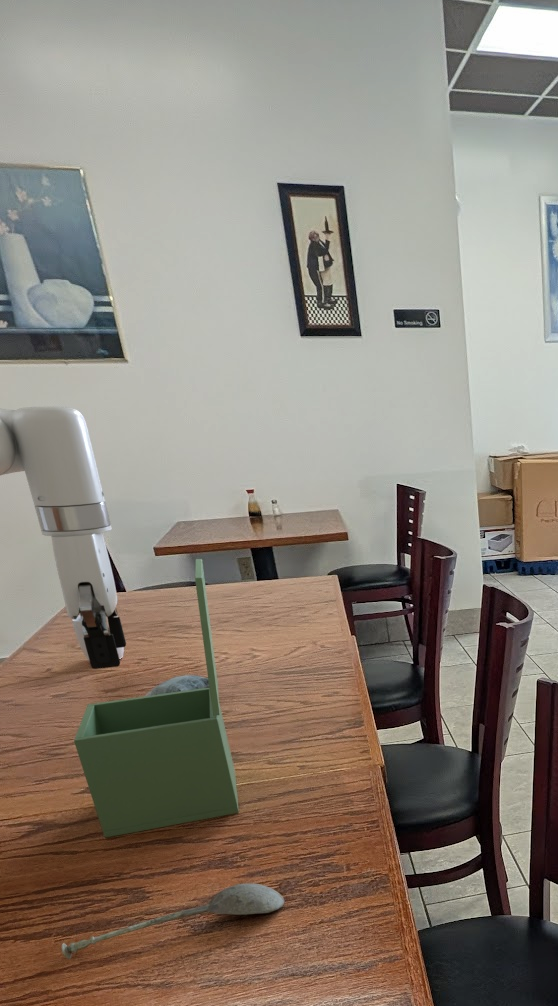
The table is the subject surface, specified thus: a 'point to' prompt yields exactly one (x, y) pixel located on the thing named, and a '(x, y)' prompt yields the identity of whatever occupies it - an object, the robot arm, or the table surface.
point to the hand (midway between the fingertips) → (110, 657)
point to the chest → (156, 761)
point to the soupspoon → (205, 910)
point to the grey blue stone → (180, 684)
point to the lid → (207, 636)
